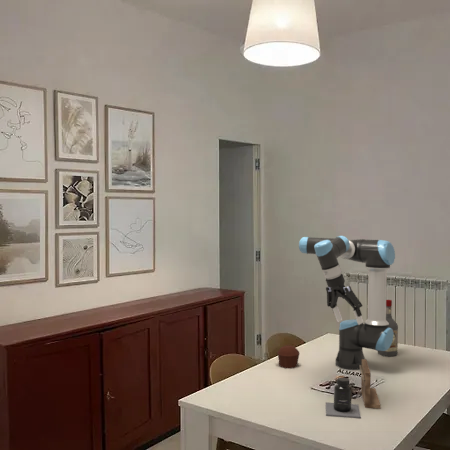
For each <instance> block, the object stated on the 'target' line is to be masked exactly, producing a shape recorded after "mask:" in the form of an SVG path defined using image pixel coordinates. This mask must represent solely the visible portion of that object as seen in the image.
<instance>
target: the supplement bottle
mask: <svg viewBox="0 0 450 450" xmlns="http://www.w3.org/2000/svg"><path fill="white" fill-rule="evenodd" d="M352 392H353V390H352V387H351V385H350V379H349V378H346V377H337V378H336V384H335V385H334V387H333V403H334V409H335V410H337V411H340V412H348V411H350V410H351V404H352Z"/></svg>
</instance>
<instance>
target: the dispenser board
mask: <svg viewBox="0 0 450 450" xmlns="http://www.w3.org/2000/svg"><path fill="white" fill-rule="evenodd" d="M359 367H360V369H359V371H360V374H361V377H360V378H361V380H360V381H361V382H360V391H361V397H362V400H363V405H364V408H366V409H367V408H369V409H381V402H380V400H379V395H378V393H377V390H376V388H374V387H371V370H370V367H369V364H368V360H367V359H366V358H365V359H362V366H361V365H360V366H359Z"/></svg>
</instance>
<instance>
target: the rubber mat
mask: <svg viewBox="0 0 450 450" xmlns="http://www.w3.org/2000/svg"><path fill="white" fill-rule="evenodd" d="M325 416H326V417H338V418H339V417H340V418H351V419H361V418H362V415H361V411H360V406H359V404H356V403H351V410H350V411H348V412H340V411H337V410H335V409H334V402H330V401H329V402H327V401H326V402H325Z"/></svg>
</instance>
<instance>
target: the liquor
mask: <svg viewBox="0 0 450 450" xmlns="http://www.w3.org/2000/svg"><path fill="white" fill-rule="evenodd" d="M392 307H393V301H392V299H386V321H387V322H388V323H389V328H391V329H392V330H393V341H392V344H391V346H390V347H389V349H388V350H386V351H377V354H378V355H380V356H382V357H388V358H390V357H397V355H398V351H399V349H398V345H399V343H398V342H399V341H398V339H399V325H398V323H397V322H396V321H395V319H394V318H393V316H392Z"/></svg>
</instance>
